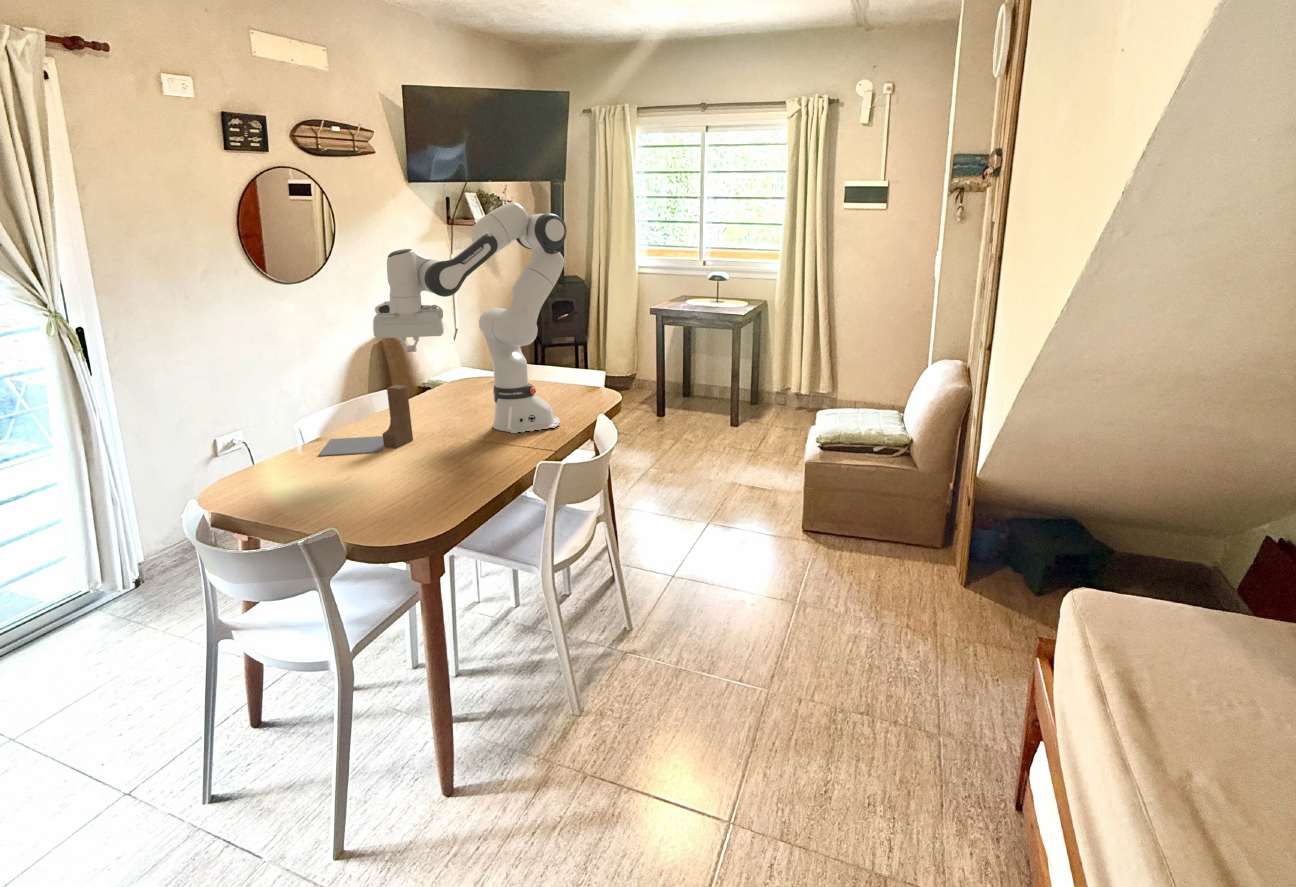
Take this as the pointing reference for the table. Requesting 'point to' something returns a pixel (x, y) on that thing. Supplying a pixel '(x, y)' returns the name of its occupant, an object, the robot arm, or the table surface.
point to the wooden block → (398, 418)
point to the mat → (353, 446)
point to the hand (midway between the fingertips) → (411, 351)
